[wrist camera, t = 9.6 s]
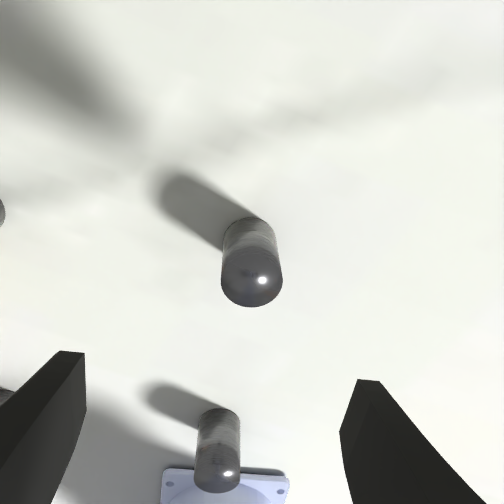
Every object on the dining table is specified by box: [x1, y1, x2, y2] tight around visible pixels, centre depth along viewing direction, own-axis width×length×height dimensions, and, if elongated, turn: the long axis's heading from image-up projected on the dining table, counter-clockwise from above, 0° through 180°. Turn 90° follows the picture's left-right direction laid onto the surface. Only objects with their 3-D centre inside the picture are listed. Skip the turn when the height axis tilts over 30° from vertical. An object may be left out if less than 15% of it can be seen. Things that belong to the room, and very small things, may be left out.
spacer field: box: [0, 200, 283, 493], centre depth 21 cm, size 14×14×4 cm
